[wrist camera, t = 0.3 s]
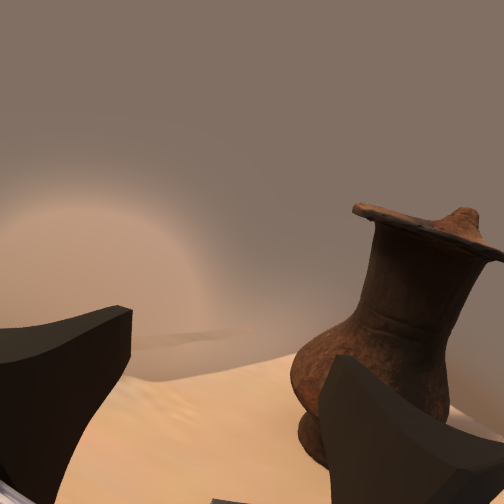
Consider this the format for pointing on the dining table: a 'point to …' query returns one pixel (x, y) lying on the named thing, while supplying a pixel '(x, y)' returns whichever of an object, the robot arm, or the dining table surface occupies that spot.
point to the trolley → (224, 502)
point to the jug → (399, 313)
